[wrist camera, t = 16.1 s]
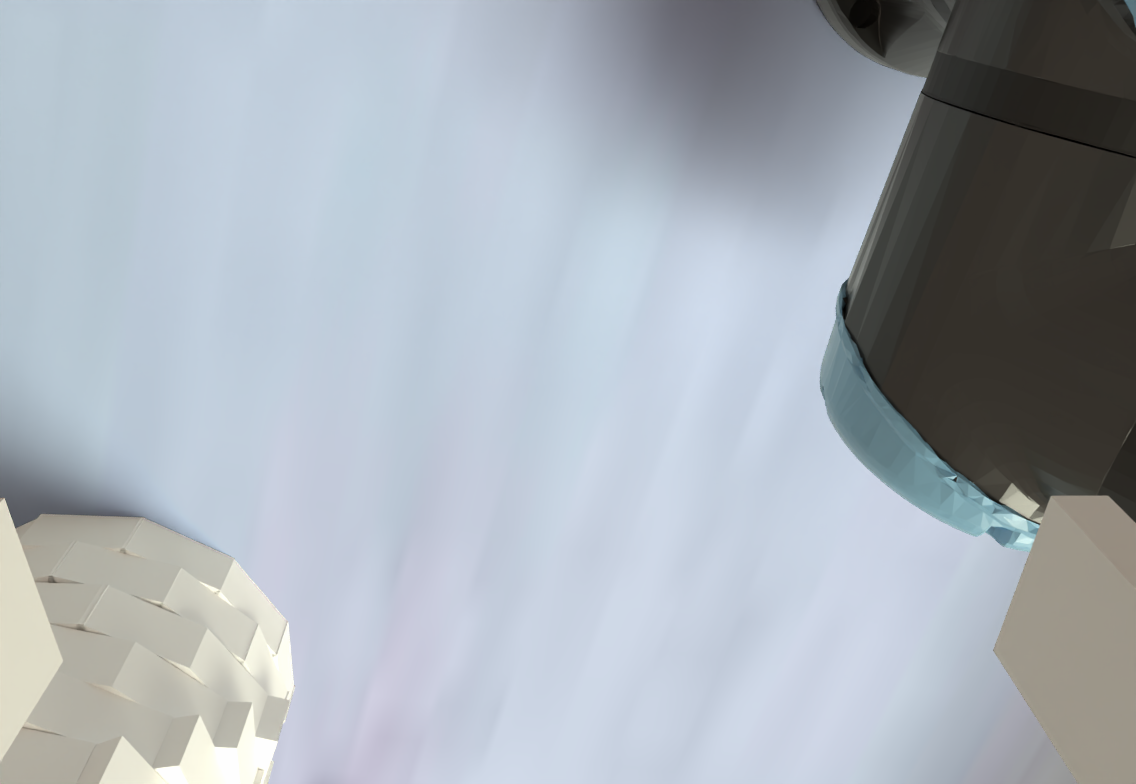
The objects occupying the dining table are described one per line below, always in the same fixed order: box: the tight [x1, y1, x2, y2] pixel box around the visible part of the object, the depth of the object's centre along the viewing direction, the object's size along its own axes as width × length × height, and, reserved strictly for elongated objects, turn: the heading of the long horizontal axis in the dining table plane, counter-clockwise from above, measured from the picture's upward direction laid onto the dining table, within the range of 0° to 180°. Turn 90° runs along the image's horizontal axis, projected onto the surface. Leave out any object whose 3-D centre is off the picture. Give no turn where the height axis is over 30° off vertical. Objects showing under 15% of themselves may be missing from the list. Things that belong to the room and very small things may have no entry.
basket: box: [0, 514, 295, 784], centre depth 50 cm, size 25×24×19 cm
